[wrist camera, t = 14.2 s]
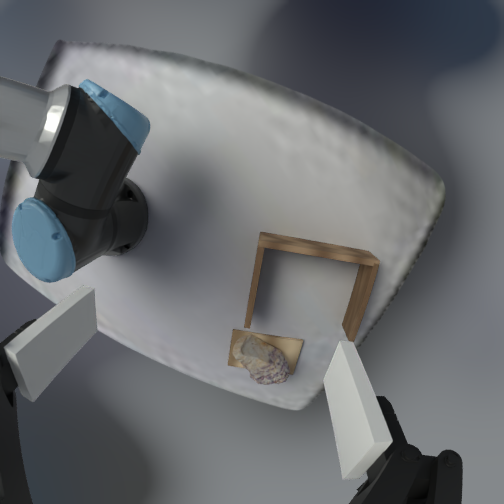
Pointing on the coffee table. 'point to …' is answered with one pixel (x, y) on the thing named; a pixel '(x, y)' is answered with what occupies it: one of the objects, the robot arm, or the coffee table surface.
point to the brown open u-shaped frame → (324, 250)
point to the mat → (286, 345)
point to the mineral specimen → (261, 360)
